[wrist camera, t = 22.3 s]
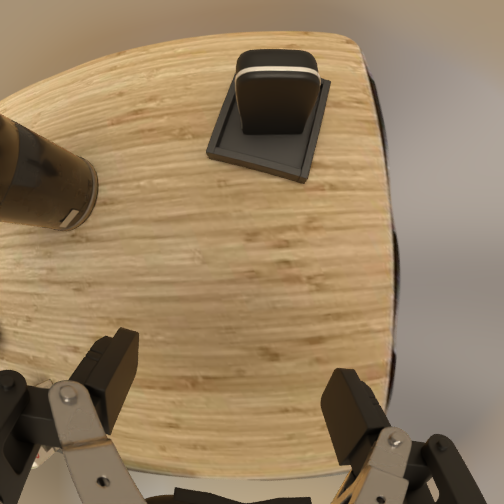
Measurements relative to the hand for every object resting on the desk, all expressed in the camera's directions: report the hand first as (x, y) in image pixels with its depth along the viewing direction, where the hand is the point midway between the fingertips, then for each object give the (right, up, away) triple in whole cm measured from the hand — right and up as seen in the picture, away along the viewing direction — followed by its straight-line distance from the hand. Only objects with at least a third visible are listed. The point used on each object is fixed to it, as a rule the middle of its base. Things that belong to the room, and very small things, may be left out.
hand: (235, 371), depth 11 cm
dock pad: (+3, +19, +20) cm, 28 cm away
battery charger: (+3, +19, +19) cm, 27 cm away
